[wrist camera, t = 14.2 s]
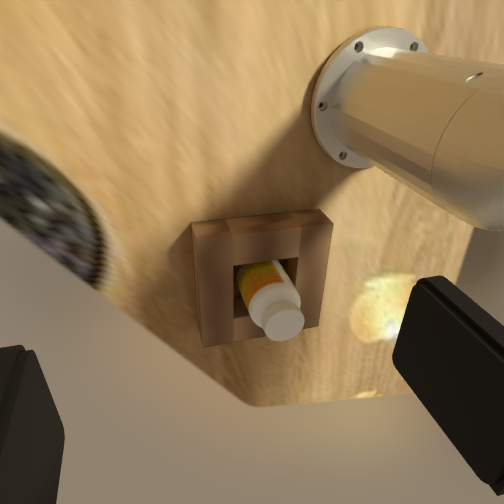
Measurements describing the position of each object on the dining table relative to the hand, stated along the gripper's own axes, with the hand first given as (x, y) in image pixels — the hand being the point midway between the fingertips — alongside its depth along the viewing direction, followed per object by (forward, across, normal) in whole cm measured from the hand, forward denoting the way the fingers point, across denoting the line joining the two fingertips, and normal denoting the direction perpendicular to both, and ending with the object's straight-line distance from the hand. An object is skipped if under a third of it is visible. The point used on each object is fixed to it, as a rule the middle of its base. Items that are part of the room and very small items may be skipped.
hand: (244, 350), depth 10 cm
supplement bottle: (+28, -9, +18) cm, 35 cm away
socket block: (+28, -9, +18) cm, 35 cm away
